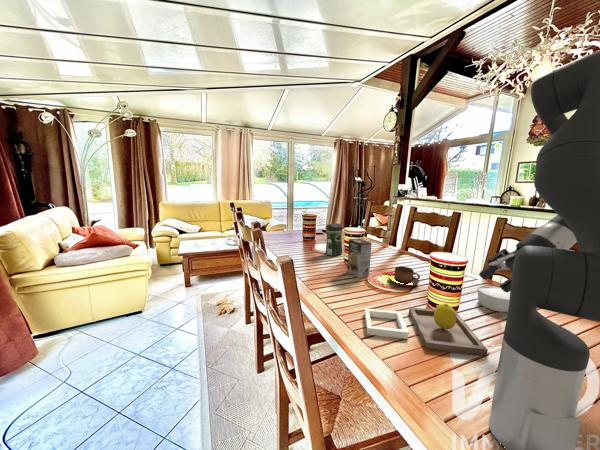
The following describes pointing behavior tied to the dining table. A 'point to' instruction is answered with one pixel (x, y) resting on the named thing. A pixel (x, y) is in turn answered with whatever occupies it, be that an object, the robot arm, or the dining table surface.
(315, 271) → the dining table surface
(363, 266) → the coffee box
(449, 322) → the lemon
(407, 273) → the cup and saucer
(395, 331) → the holder frame
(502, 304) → the ramekin
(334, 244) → the coffee jar
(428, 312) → the walnut tray
